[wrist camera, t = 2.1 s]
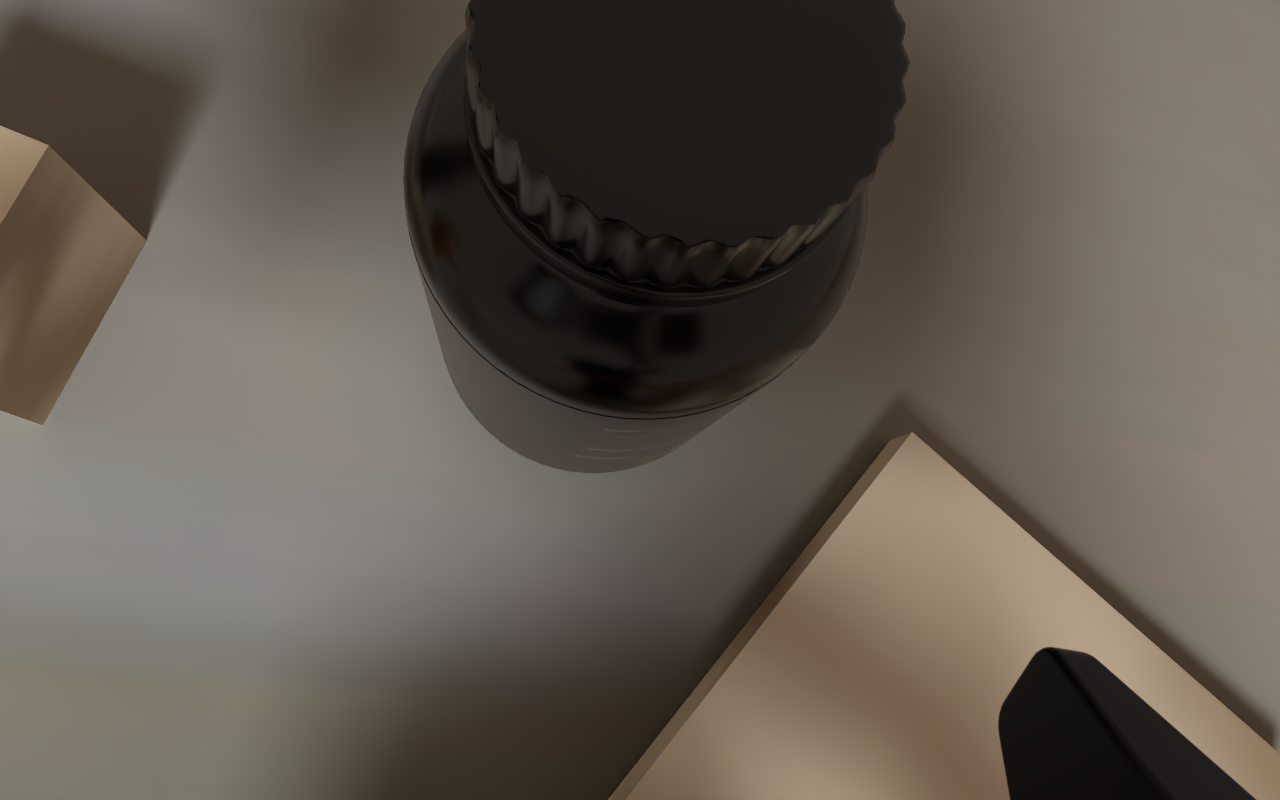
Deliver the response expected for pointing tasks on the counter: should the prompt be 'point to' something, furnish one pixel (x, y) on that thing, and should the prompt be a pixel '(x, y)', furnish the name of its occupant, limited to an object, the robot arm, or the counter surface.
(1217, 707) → the maple board
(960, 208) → the counter surface
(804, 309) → the supplement bottle
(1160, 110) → the counter surface
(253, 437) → the counter surface
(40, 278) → the oak block
